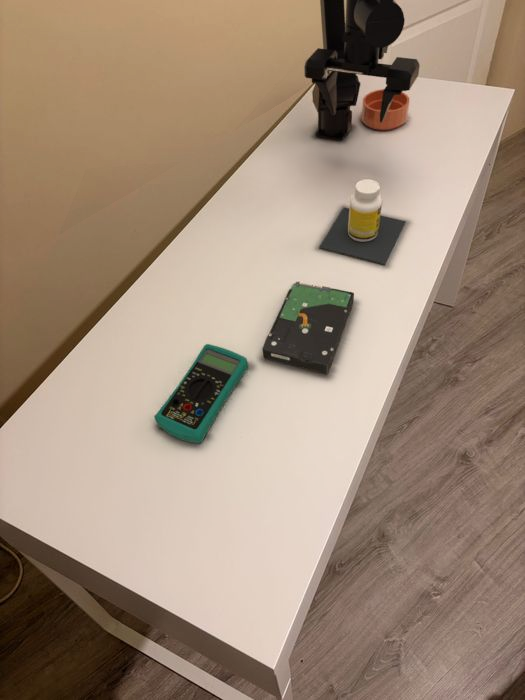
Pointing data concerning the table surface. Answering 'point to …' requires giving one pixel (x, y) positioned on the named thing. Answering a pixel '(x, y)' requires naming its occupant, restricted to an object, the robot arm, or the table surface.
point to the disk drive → (309, 327)
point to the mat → (368, 250)
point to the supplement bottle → (365, 211)
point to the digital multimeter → (201, 393)
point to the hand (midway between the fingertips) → (357, 117)
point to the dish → (394, 114)
